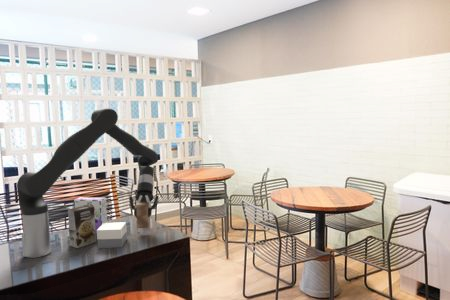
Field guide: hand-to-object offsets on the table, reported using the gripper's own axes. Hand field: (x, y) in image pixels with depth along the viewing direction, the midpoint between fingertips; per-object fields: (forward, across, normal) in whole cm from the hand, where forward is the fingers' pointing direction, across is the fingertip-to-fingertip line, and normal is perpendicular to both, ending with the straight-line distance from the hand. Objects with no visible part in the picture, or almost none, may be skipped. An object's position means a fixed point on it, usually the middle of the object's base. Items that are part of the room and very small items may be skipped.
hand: (142, 216), depth 162 cm
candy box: (0, -26, +13) cm, 29 cm away
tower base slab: (+12, -12, +1) cm, 17 cm away
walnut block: (+2, 0, +5) cm, 6 cm away
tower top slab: (+9, -12, -2) cm, 15 cm away
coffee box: (+12, -25, +2) cm, 27 cm away
